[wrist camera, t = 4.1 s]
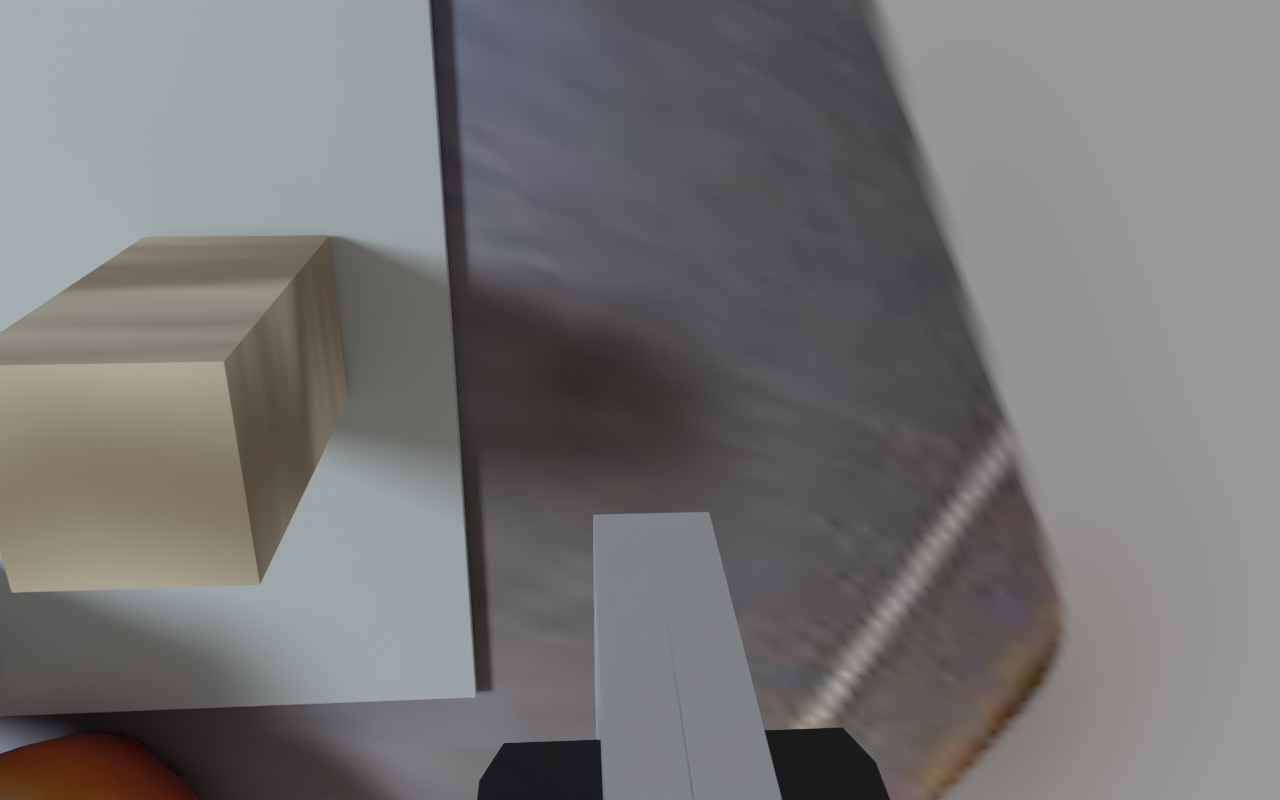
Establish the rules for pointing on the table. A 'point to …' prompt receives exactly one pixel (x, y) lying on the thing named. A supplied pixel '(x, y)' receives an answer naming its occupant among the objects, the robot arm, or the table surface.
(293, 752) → the table surface
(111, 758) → the fruit
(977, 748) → the table surface
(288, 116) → the felt mat
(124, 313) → the beech block
